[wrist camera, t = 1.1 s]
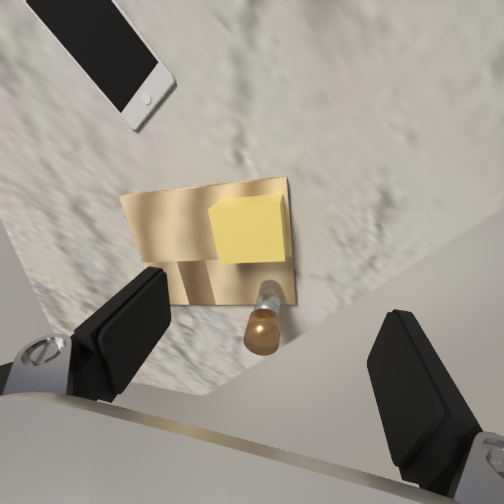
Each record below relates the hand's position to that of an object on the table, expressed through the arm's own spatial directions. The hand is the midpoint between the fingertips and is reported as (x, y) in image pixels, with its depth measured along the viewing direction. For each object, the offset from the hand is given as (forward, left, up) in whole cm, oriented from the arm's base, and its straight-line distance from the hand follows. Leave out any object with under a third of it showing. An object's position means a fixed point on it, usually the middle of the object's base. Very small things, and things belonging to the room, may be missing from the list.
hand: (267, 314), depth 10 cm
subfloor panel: (+10, +5, -19) cm, 22 cm away
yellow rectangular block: (+4, +2, -18) cm, 18 cm away
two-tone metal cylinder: (+3, +11, -18) cm, 21 cm away
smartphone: (+17, -18, -20) cm, 31 cm away
